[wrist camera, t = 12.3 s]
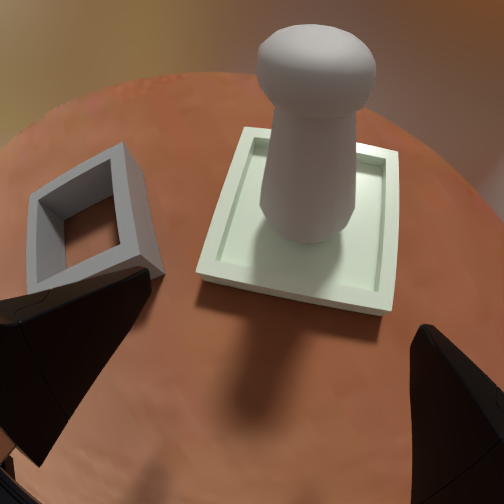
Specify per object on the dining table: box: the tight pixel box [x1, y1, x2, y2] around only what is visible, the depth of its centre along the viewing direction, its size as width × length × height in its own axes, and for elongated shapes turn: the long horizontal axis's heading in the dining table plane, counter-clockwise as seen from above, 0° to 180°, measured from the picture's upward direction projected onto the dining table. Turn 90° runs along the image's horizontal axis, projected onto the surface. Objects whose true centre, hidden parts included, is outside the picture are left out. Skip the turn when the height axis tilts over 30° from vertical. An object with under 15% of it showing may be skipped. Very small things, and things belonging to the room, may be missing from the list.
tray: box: [196, 127, 399, 316], centre depth 20 cm, size 12×12×2 cm
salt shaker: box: [257, 24, 376, 244], centre depth 14 cm, size 6×6×13 cm
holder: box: [26, 142, 165, 295], centre depth 20 cm, size 10×10×4 cm
